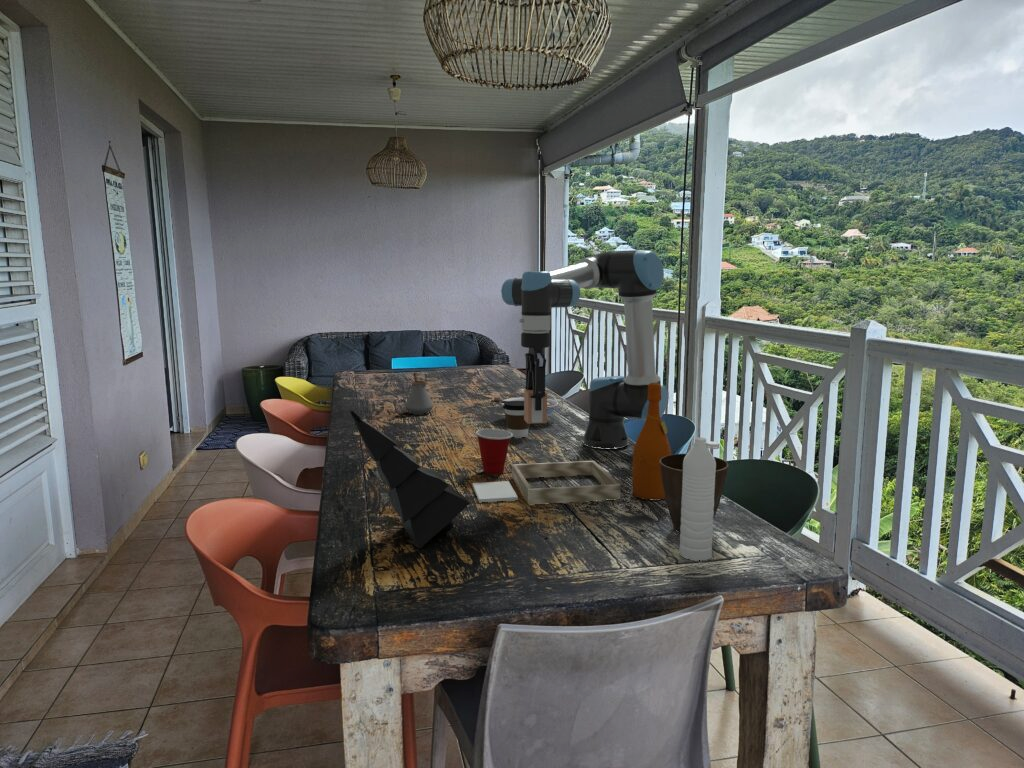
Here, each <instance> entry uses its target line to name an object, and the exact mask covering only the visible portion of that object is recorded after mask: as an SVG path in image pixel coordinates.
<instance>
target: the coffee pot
mask: <svg viewBox="0 0 1024 768" xmlns="http://www.w3.org/2000/svg"><path fill="white" fill-rule="evenodd" d="M411 376H412V377H414V378H413V379H414V381H410V384H411V385H412V388H411V390H410V393H409V396H408V398H407V401H406V403H405V409H406V411H408V412H409V413H410V414H411V413H413V414H412V415H425V414H424V413H427V414H429V413H430V412H431V411H432V410H433V408H434V404H433V402H432V399H431V397H430V394H429V392H428V390H427V388H426V386H427V384H428V381H425V380H418V377H417V376H418V375H417V372H415V371H414V372H412V373H411ZM428 412H429V413H428Z"/></svg>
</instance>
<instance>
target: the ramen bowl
mask: <svg viewBox="0 0 1024 768" xmlns="http://www.w3.org/2000/svg"><path fill="white" fill-rule="evenodd" d="M508 401H524V396H523V397H511V398H507V399H503V400H501V399H492V400H490V402H491V403H497V404H498V403H500V405H501V408H502V409H503V411H504V412H505V409H504V408H503V405H504V403H505V402H508ZM558 405H559V402H558V400H555V399H552V398H547V418H548V417H549V416H552V414H553V413H554V412H555V410H556V409H557V407H558Z"/></svg>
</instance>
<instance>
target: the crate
mask: <svg viewBox="0 0 1024 768" xmlns="http://www.w3.org/2000/svg"><path fill="white" fill-rule="evenodd" d="M588 474H592V475H593V476H594V477H595V478H596V479H597V480H598V481H599V482H600V483H601V484H602V485H601V484H600V483H599V482H598V481H597V480H596V479H595V478H594V477H593V476H592V475H591V476H592V477H593V478H594V479H595V480H596V481H597V482H598V483H599V484H597V485H596V484H595V485H577V486H576V485H575V486H560V487H558V486H556V487H555V486H554V487H540V488H539V487H538V488H532V487H531V486H530V484H529V482H528V481H527V480H526V479H540V478H539V477H544V478H560V477H559V476H564V477H578V476H577V475H583V476H589V475H588ZM511 478H512V481H513V482H514V483H515V484H514V485H516V487H517V489H518V490H519V492H520V493H522V494H521V495H522V497H523V496H524V497H523V498H525V499H524V500H525V502H526V501H527V502H526V503H528V504H529V505H528V504H527V505H528V506H531V505H530V504H542V503H563V504H570V503H569V502H580V503H585V502H584V501H594V500H606V499H618V498H619V499H620V500H621V489H622V488H621V486H622V485H621V484H620V483H619V482H618V481H617V480H615V479H614V478H613V476H612V475H610V474H609V473H608V472H607V471H606V470H605V469H603V468H602V467H601V466H600V465H599V464H598V463H597V462H596V461H595V460H580V461H579V460H578V461H574V460H573V461H560V462H559V461H557V462H555V461H554V462H539V463H538V462H537V463H536V462H534V463H517V464H515V463H514V464H513V463H512V464H511ZM567 502H568V503H567Z"/></svg>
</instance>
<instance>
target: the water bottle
mask: <svg viewBox="0 0 1024 768" xmlns="http://www.w3.org/2000/svg"><path fill="white" fill-rule="evenodd" d="M710 449H711V450H717V449H720V442H718V441H710V440H709V441H707V438H705V437H700V436H698V437H694V441H693V445H692V447H691V448H690V449H689V450H688V452H687V453H685V454H686V456H685V458H684V460H683V481H682V483H683V484H682V500H681V505H682V507H681V526H680V532H681V533H679V548H678V549H679V551H678V552H679V555H681V556H682V558H683V557H684V558H686V559H685V560H687V559H690V561H691V560H696V561H695V562H703V561H702V560H706V561H708V560H707V559H709V558H710V559H712V554H713V534H714V533H713V532H714V528H713V527H714V526H713V525H714V519H713V516H714V510H713V508H714V492H715V490H714V489H715V472H716V461H715V458H714V457H715V456H713V454H712V451H711V450H710ZM681 556H680V557H681ZM684 558H683V559H684ZM710 559H709V560H710ZM699 560H700V561H699Z"/></svg>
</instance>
